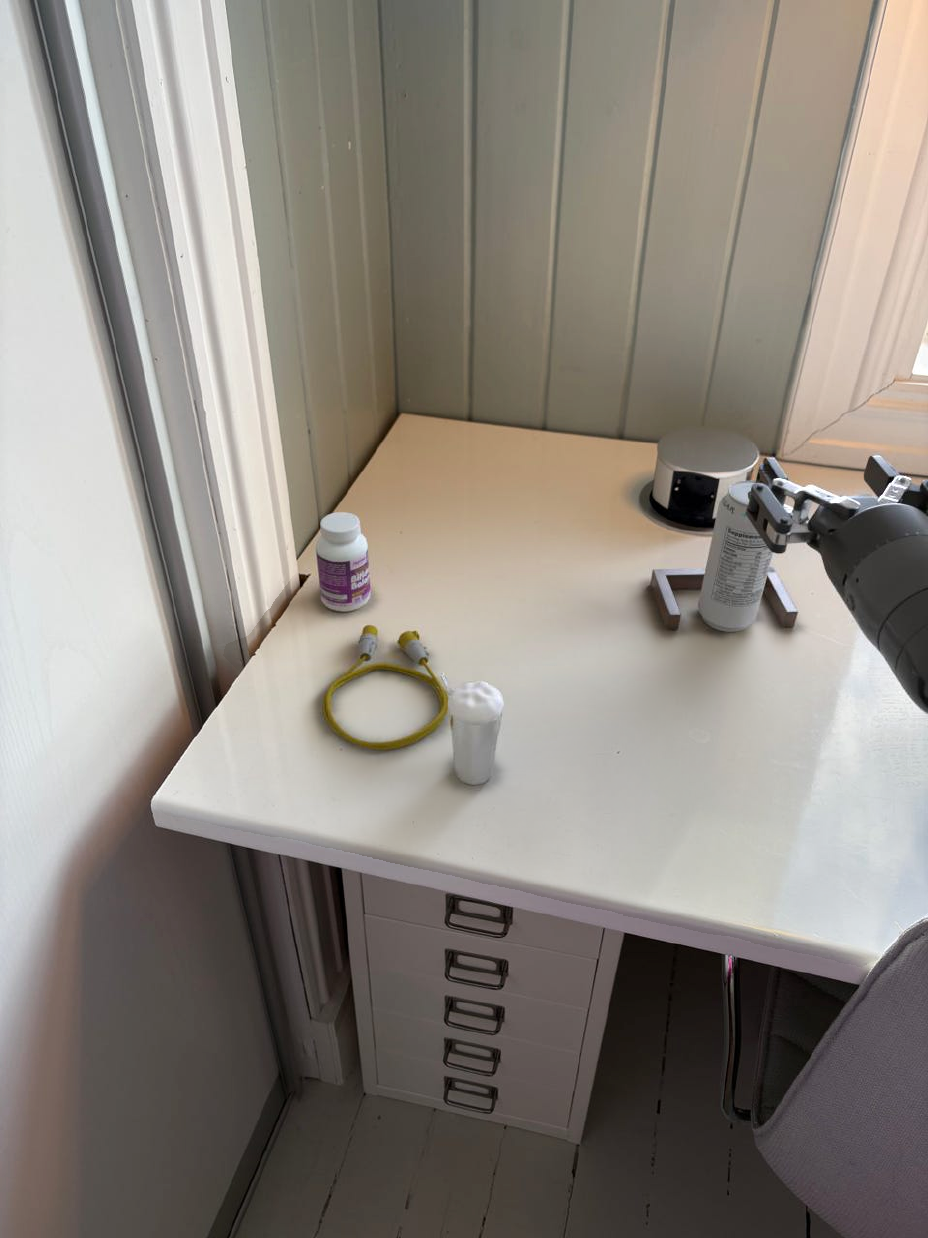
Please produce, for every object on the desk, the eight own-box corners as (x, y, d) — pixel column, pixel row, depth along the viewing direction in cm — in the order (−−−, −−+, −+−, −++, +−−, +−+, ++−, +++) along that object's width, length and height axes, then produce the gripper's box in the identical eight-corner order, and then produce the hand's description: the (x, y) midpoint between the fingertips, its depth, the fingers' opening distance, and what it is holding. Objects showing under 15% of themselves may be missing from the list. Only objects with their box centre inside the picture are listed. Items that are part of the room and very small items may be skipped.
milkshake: (453, 743, 83) (454, 657, 77) (508, 762, 81) (513, 676, 75) (430, 777, 79) (428, 690, 73) (486, 798, 78) (490, 711, 71)
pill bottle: (363, 616, 97) (358, 538, 91) (314, 610, 98) (306, 533, 92) (376, 586, 101) (372, 510, 95) (329, 581, 102) (322, 505, 96)
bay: (650, 584, 102) (652, 569, 101) (769, 581, 103) (773, 566, 102) (666, 630, 96) (669, 615, 95) (794, 627, 96) (798, 611, 95)
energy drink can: (752, 603, 100) (783, 480, 90) (756, 638, 95) (790, 512, 86) (695, 597, 100) (720, 474, 91) (697, 631, 96) (723, 505, 86)
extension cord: (480, 659, 92) (481, 644, 91) (415, 769, 80) (415, 752, 79) (370, 630, 95) (369, 615, 94) (292, 730, 84) (290, 714, 82)
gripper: (1029, 534, 60) (918, 421, 72) (812, 540, 59) (739, 425, 72) (988, 626, 64) (891, 505, 77) (786, 632, 64) (722, 508, 76)
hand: (817, 466), depth 74 cm, fingers open, 8 cm apart
